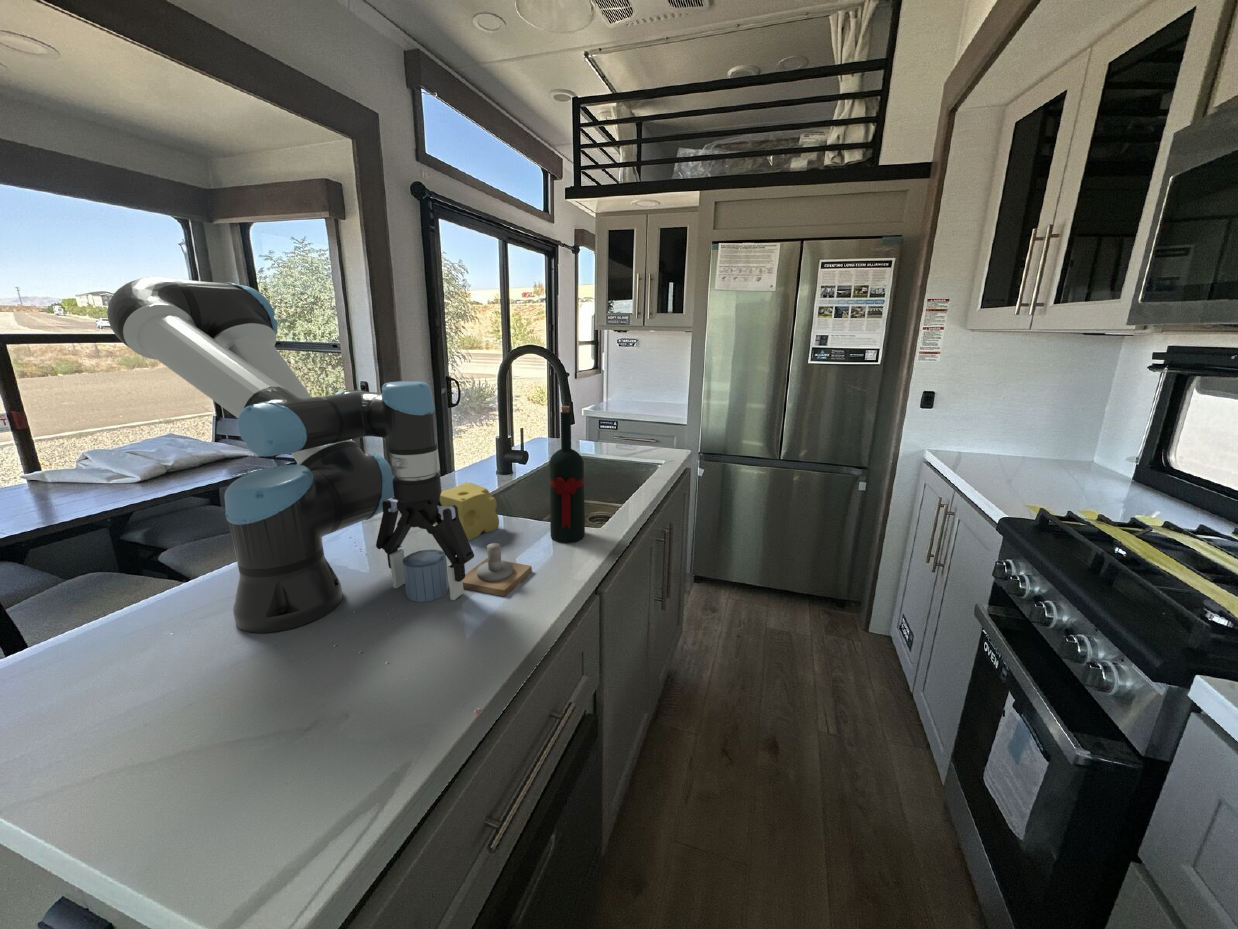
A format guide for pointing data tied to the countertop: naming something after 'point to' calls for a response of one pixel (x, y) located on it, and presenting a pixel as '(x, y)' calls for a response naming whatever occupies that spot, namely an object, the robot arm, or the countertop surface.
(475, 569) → the wooden square stand
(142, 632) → the countertop surface
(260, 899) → the countertop surface
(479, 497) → the cheese
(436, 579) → the cap
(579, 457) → the wine bottle
